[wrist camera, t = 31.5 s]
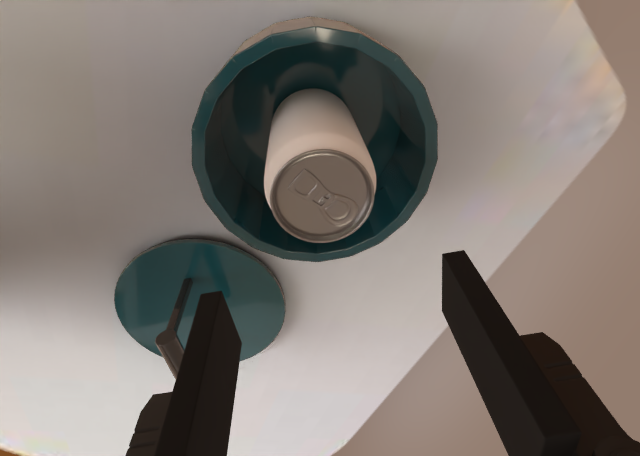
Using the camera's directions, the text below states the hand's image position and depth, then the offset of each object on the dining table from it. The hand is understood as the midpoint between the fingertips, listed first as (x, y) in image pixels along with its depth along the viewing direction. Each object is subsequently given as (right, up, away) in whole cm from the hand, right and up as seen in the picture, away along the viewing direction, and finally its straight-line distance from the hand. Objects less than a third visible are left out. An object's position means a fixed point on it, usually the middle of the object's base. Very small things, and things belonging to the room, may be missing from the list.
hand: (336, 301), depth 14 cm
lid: (-13, -5, +26) cm, 29 cm away
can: (-1, +11, +17) cm, 20 cm away
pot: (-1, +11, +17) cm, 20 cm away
